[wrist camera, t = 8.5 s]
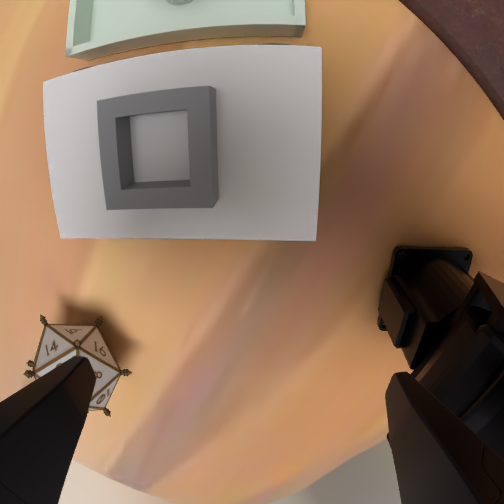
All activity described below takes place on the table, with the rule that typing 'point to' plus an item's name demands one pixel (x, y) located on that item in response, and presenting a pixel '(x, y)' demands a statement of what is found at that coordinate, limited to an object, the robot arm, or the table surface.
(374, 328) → the table surface
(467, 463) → the robot arm
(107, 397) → the game die
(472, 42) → the notebook
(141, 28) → the tray
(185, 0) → the pin
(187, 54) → the white socket plate
